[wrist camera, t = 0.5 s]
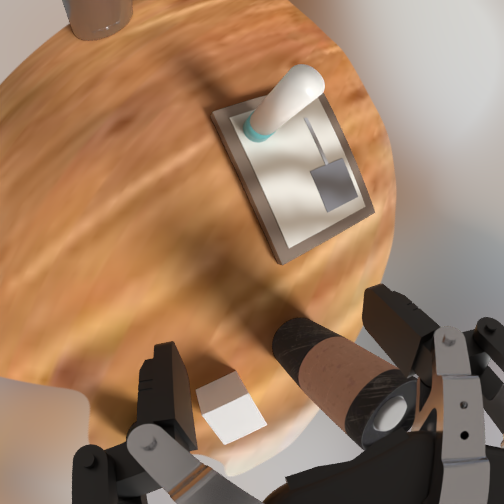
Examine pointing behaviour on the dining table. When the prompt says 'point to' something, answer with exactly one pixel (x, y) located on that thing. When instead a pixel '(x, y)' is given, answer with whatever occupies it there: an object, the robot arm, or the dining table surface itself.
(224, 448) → the dining table surface
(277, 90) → the cylinder
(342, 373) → the travel mug
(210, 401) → the white cube
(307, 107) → the board
